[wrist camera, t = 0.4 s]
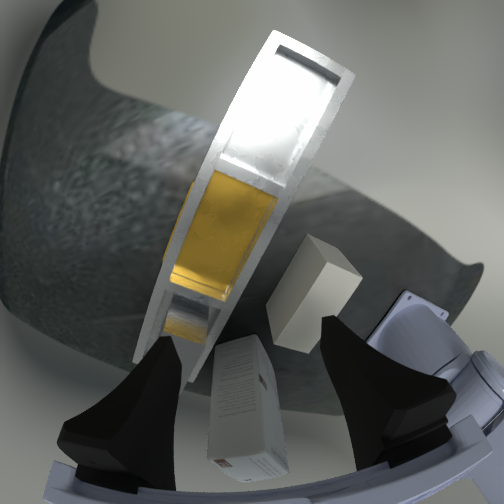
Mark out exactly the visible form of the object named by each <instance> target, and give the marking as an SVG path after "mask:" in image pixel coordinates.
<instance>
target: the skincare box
mask: <svg viewBox="0 0 504 504" xmlns="http://www.w3.org/2000/svg"><path fill="white" fill-rule="evenodd" d="M208 433H209V434H208V449H207V459H208V460H209V461H210V462H212V463H213V464H214V465H215V466H217V467H218V468H220V469H221V471H222V472H223V473H224V474H226V475H228V476H230V477H233V478H235V479H236V480H238V481H239V482H241V483H247V482H254V481H259V480H265V479H270V478H275V477H279V476H282V475H286V474H289V473H290V472H289V467H288V461H287V455H286V446H285V439H284V432H283V426H282V419H281V413H280V406H279V399H278V392H277V385H276V379H275V373H274V369H273V367H272V364H271V362H270V359H269V357H268V355H267V353H266V351H265V349H264V347H263V345H262V343H261V341H260V339H259V338H258V336H257V335H255V334H253V335H249V336H245V337H242V338H238V339H235V340H232V341H228V342H225V343H222V344H219V345H217V346H215V353H214V365H213V377H212V390H211V404H210V417H209V432H208Z"/></svg>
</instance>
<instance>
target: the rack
mask: <svg viewBox="0 0 504 504" xmlns="http://www.w3.org/2000/svg"><path fill="white" fill-rule="evenodd" d="M355 76H356V75H355V74H354V73H352V72H350V71H349V70H347V69H346V68H344V67H343V66H341V65H339V64H338V63H336V62H335V61H333V60H331V59H329V58H328V57H326V56H324V55H323V54H321V53H319V52H317V51H315V50H314V49H312V48H310V47H308V46H306V45H304V44H302V43H300V42H298V41H296V40H294V39H292V38H290V37H288V36H286V35H284V34H282V33H280V32H277V31H275V30H273V32H272V33H271V35H270V36H269V38H268V40H267V42H266V43H265V45H264V46H263V48H262V50H261V51H260V53H259V55H258V57H257V58H256V60H255V62H254V63H253V65H252V67H251V69H250V71H249V72H248V74H247V76H246V78H245V79H244V81H243V83H242V85H241V87H240V89H239V91H238V92H237V94H236V96H235V98H234V100H233V102H232V104H231V106H230V108H229V110H228V112H227V114H226V116H225V118H224V120H223V122H222V124H221V126H220V128H219V130H218V132H217V134H216V136H215V138H214V140H213V142H212V144H211V147H210V149H209V151H208V153H207V155H206V157H205V160H204V162H203V164H202V166H201V169H200V171H199V173H198V175H197V178H195V179H194V181H193V182H192V185H191V187H190V189H189V192H188V194H187V197H186V199H185V202H184V204H183V206H182V209H181V211H180V214H179V216H178V219H177V222H176V224H175V227H174V229H173V232H172V235H171V237H170V240H169V243H168V245H167V248H166V251H165V254H164V256H163V259H162V261H163V264H162V267H161V270H160V273H159V276H158V279H157V281H156V284H155V287H154V290H153V294H152V297H151V300H150V303H149V306H148V309H147V312H146V316H145V319H144V322H143V326H142V329H141V333H140V336H139V340H138V343H137V347H136V350H135V354H134V358H133V363H136V364H138V363H139V362H140V361H141V359H142V358H143V357H144V356H145V354H146V353H147V352H148V350H149V349H150V348H151V347H152V345H153V344H154V343H155V341H156V340H157V339H158V338H159V337H160V336H171V337H172V340H173V343H174V345H175V348H176V351H177V353H178V356H179V358H180V361H181V363H182V379H181V387H180V393H179V396H180V394H181V392H182V391H183V389H184V387H185V385H186V383H187V381H189V382H194V380H195V378H196V377H197V375H198V373H199V371H200V369H201V368H202V366H203V364H204V362H205V360H206V359H207V357H208V355H209V353H210V351H211V349H212V348H213V346H214V344H215V342H216V340H217V338H218V337H219V335H220V333H221V331H222V329H223V328H224V326H225V324H226V322H227V320H228V318H229V316H230V315H231V313H232V311H233V309H234V307H235V305H236V304H237V302H238V300H239V298H240V296H241V294H242V293H243V291H244V289H245V287H246V285H247V283H248V281H249V280H250V278H251V276H252V274H253V272H254V270H255V268H256V266H257V265H258V263H259V261H260V259H261V257H262V255H263V253H264V252H265V250H266V248H267V246H268V244H269V242H270V240H271V238H272V237H273V235H274V233H275V231H276V229H277V227H278V225H279V223H280V221H281V220H282V218H283V216H284V214H285V212H286V210H287V208H288V206H289V204H290V202H291V201H292V199H293V197H294V195H295V193H296V191H297V189H298V187H299V185H300V183H301V182H302V180H303V178H304V176H305V174H306V172H307V170H308V168H309V166H310V164H311V162H312V160H313V158H314V156H315V155H316V153H317V151H318V149H319V147H320V145H321V143H322V141H323V139H324V137H325V135H326V133H327V131H328V129H329V128H330V125H331V123H332V122H333V120H334V118H335V116H336V114H337V112H338V110H339V108H340V106H341V104H342V102H343V100H344V98H345V96H346V94H347V92H348V90H349V88H350V86H351V84H352V82H353V80H354V78H355Z"/></svg>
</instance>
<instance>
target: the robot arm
mask: <svg viewBox="0 0 504 504" xmlns="http://www.w3.org/2000/svg"><path fill="white" fill-rule="evenodd" d="M448 315H449V313H448V312H447V311H446V310H444V309H442V308H440V307H438V306H436V305H435V304H433V303H431V302H429V301H427V300H425V299H423V298H421V297H419V296H417V295H415V294H413V293H411V292H409V291H407V290H406V291H404V292H403V293H402V294H401V295H400V297H399V298H398V300H397V301H396V303H395V304H394V305H393V307H392V308H391V310H390V311H389V312H388V314H387V315H386V316H385V318H384V319H383V320H382V322H381V323H380V324H379V326H378V327H377V328H376V330H375V331H374V332H373V333H372V335H371V336H370V337H369V338H368V340H367V341H366V342H365V341H364V340H362V339H361V338H360V337H359V336H357V335H356V334H355V333H354V332H353V331H351V330H350V329H349V328H348V327H347V326H346V325H345V324H344V323H342V322H341V321H340V320H339V319H338V318H337V317H336V316H335V315H331V316H325V317H322V322H321V343H320V349H321V353H322V356H323V360H324V363H325V366H326V369H327V371H328V374H329V376H330V378H331V381H332V383H333V385H334V388H335V390H336V392H337V395H338V397H339V399H340V402H341V405H342V408H343V411H344V415H345V419H346V422H347V426H348V430H349V434H350V438H351V443H352V448H353V452H354V458H355V463H356V469H357V471H356V472H353V473H350V474H346V475H343V476H339V477H335V478H331V479H327V480H322V481H318V482H314V483H308V484H303V485H297V486H291V487H284V488H277V489H269V490H259V491H247V492H224V493H205V492H181V491H176V486H175V475H174V457H173V456H174V449H173V448H174V447H173V446H174V444H173V443H174V423H175V415H176V409H177V404H178V398H179V393H180V387H181V379H182V363H181V361H180V358H179V356H178V353H177V351H176V348H175V345H174V343H173V340H172V337H171V336H160V337H159V338H158V339H157V340H156V341H155V343H154V344H153V345H152V347H151V348H150V349H149V350H148V352H147V353H146V354H145V356H144V357H143V358H142V359H141V361H140V362H139V363H138V365H137V366H136V367H135V368H134V369H133V370H132V372H131V373H130V374H129V375H128V376H127V377H126V378H125V379H124V380H123V381H122V383H120V384H119V386H117V387H116V388H115V389H114V390H113V391H112V392H111V393H109V394H108V395H107V396H106V397H104V398H103V399H102V400H101V401H99V402H98V403H97V404H95V405H94V406H92V407H91V408H89V409H88V410H86V411H84V412H83V413H81V414H79V415H77V416H75V417H73V418H71V419H69V420H67V421H65V422H64V424H63V427H62V429H61V432H60V435H59V437H58V440H57V445H58V447H59V448H60V449H61V450H62V451H63V452H64V453H65V454H66V455H67V456H69V457H70V458H71V459H72V460H74V461H75V462H76V463H78V466H77V469H76V468H74V467H72V466H69V465H66V464H63V463H61V462H58V461H53V464H52V467H51V470H50V474H49V477H48V480H47V484H46V488H45V492H44V495H43V500H44V501H46V502H48V503H50V504H415V503H417V502H419V501H421V500H423V499H425V498H427V497H429V496H431V495H432V494H434V493H436V492H438V491H440V490H441V489H443V488H445V487H447V486H448V485H450V484H451V483H453V482H455V481H456V480H458V479H472V480H473V481H474V483H475V484H476V486H477V487H478V488H479V490H480V491H481V493H482V494H483V496H484V497H485V498H486V500H487V502H488V503H489V504H504V410H503V409H504V368H503V367H502V366H501V365H500V364H499V363H498V362H497V361H496V359H494V358H493V357H492V356H491V355H490V354H489V353H487V352H486V351H475V352H474V353H473V354H472V353H471V351H470V349H469V347H468V346H467V345H466V344H465V343H464V342H463V340H462V339H461V338H460V337H459V336H458V335H457V334H456V332H455V331H454V330H453V329H452V328H451V327H450V326H449V325H448V324H447V322H446V321H445V320H446V318H447V317H448ZM502 410H503V411H502ZM501 411H502V412H501ZM500 412H501V414H500V415H499V416H498V417H497V418H496V419H494V418H495V417H496V416H497V415H498V414H499V413H500ZM493 419H494V421H492V420H493ZM491 421H492V423H491V424H489V423H490V422H491ZM488 424H489V425H488ZM487 425H488V426H487ZM486 426H487V427H486ZM485 427H486V428H485ZM483 428H485V429H484V430H483V431H482V429H483Z"/></svg>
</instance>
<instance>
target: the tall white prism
mask: <svg viewBox="0 0 504 504" xmlns="http://www.w3.org/2000/svg"><path fill="white" fill-rule="evenodd" d="M362 279H363V278H362V276H361V275H360V274H359V273H358V272H357V270H356V269H355V268H354V267H353V266H352V265H351V263H350V262H349V261H348V260H347V259H346V258H345V256H344V255H343V254H342V253H341V252H340V251H339V249H338V248H336V247H334V246H331V245H329V244H327V243H325V242H323V241H321V240H319V239H317V238H315V237H313V236H311V235H309V234H307V235H306V236H305V238H304V240H303V242H302V244H301V245H300V247H299V249H298V251H297V252H296V254H295V256H294V258H293V259H292V261H291V263H290V265H289V266H288V268H287V270H286V271H285V273H284V275H283V277H282V278H281V280H280V282H279V283H278V285H277V287H276V288H275V290H274V292H273V294H272V295H271V297H270V299H269V300H268V302H267V304H266V310H267V314H268V319H269V324H270V329H271V334H272V339H273V344H275V345H279V346H282V347H286V348H289V349H293V350H297V351H301V352H305V353H308V354H309V352H310V351H311V350H312V348H313V347H314V346H315V345H316V343H317V342H318V341H319V339H320V338H321V322H322V317H325V316H331V315H335V316H337V315H338V314H339V312H340V311H341V309H342V308H343V307H344V305H345V304H346V302H347V301H348V299H349V298H350V297H351V295H352V294H353V292H354V291H355V289H356V288H357V286H358V285H359V283H360V282H361V280H362Z"/></svg>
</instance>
